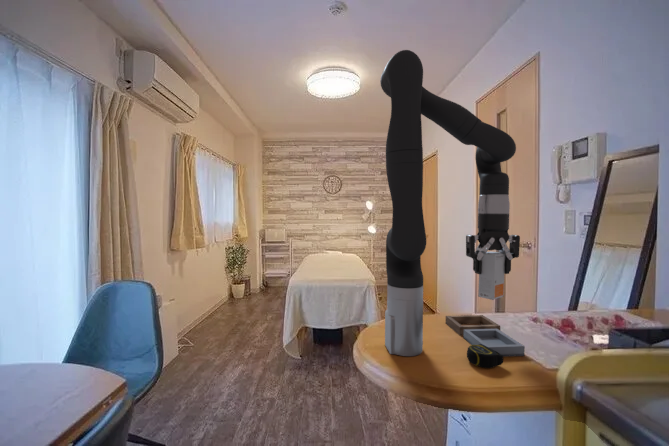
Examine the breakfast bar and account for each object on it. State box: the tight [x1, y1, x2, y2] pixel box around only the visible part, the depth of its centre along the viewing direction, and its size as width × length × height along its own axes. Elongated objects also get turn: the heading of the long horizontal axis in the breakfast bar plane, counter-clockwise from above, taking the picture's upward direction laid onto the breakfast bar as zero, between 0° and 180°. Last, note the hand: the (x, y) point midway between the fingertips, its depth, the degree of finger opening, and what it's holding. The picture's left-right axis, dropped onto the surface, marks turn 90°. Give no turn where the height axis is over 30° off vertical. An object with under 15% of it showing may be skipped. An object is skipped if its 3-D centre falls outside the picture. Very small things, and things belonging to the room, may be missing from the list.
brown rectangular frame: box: [445, 314, 501, 336], centre depth 99 cm, size 12×10×2 cm
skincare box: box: [477, 251, 505, 301], centre depth 86 cm, size 6×4×12 cm
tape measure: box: [466, 344, 504, 369], centre depth 77 cm, size 7×7×4 cm
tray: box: [463, 329, 525, 358], centre depth 86 cm, size 10×12×2 cm
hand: (491, 273), depth 86 cm, fingers closed on skincare box, 7 cm apart
